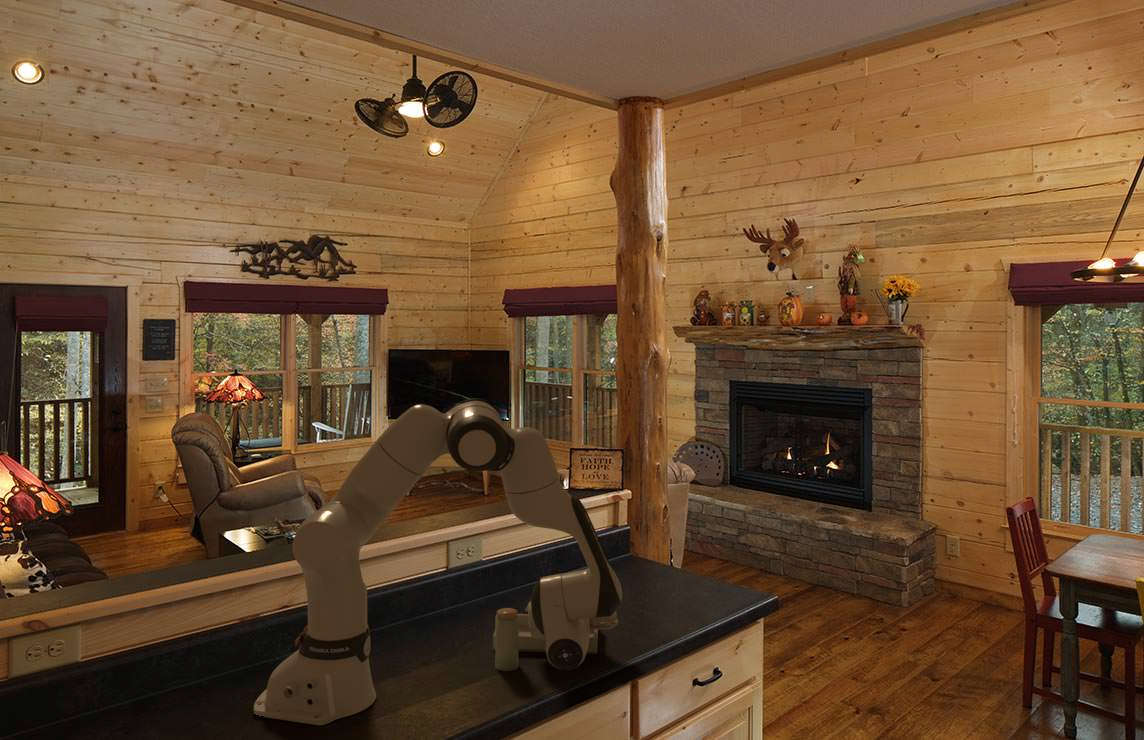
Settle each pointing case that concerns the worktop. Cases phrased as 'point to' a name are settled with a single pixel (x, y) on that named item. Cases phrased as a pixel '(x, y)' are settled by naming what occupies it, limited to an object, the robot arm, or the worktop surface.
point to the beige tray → (540, 645)
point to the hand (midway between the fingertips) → (573, 602)
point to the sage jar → (506, 639)
